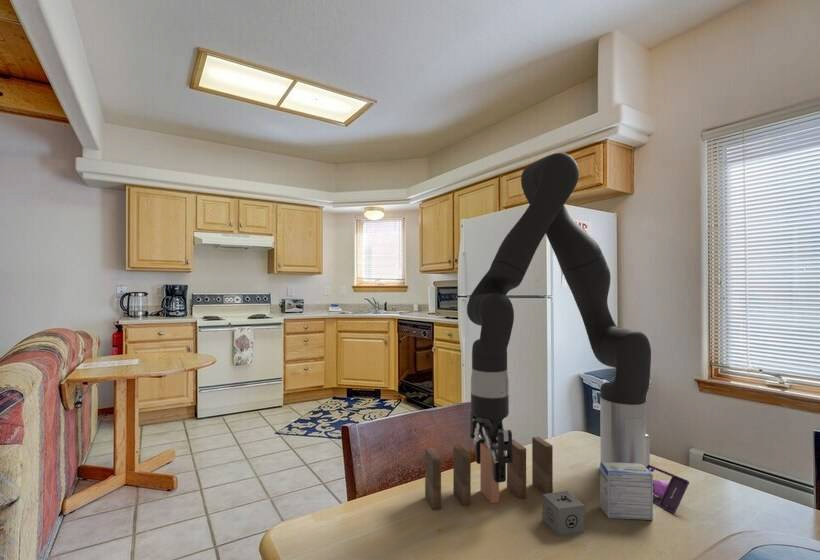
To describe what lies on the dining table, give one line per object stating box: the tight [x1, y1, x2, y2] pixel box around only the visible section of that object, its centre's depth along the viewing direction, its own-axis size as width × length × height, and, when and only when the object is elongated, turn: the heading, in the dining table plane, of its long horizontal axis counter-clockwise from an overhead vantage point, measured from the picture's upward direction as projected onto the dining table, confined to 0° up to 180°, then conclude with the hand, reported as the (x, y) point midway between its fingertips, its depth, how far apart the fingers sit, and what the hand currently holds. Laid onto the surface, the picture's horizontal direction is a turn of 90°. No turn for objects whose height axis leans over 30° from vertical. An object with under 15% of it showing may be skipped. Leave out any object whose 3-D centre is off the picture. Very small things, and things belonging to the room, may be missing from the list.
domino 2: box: [452, 444, 472, 507], centre depth 82 cm, size 2×5×10 cm, turn 15°
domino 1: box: [424, 447, 442, 511], centre depth 80 cm, size 2×5×10 cm, turn 15°
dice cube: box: [542, 490, 586, 537], centre depth 73 cm, size 5×5×5 cm
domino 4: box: [506, 438, 527, 500], centre depth 85 cm, size 2×5×10 cm, turn 15°
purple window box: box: [646, 464, 690, 515], centre depth 82 cm, size 7×5×9 cm
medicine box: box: [599, 461, 654, 521], centre depth 77 cm, size 8×4×9 cm, turn 84°
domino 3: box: [479, 442, 500, 504], centre depth 83 cm, size 2×5×10 cm, turn 15°
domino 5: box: [531, 436, 554, 495], centre depth 86 cm, size 2×5×10 cm, turn 15°
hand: (489, 471), depth 83 cm, fingers open, 8 cm apart
